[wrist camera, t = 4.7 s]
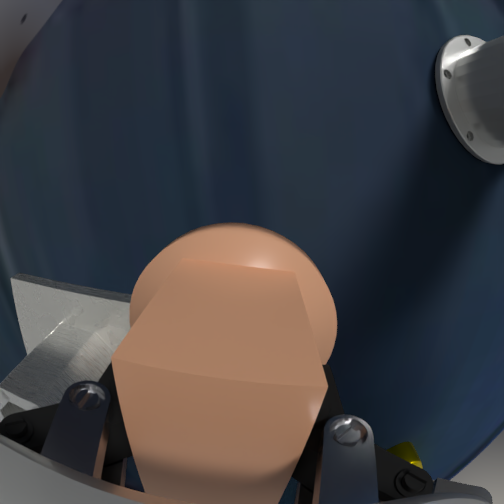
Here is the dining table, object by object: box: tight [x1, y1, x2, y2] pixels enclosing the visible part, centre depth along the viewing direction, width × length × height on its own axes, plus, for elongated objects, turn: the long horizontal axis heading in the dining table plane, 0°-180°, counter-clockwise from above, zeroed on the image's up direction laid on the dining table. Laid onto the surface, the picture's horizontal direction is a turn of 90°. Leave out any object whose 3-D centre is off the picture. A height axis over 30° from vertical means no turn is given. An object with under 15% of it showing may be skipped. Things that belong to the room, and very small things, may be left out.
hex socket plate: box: [0, 273, 132, 422], centre depth 20 cm, size 16×16×12 cm
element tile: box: [387, 442, 423, 469], centre depth 30 cm, size 15×15×5 cm
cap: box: [111, 223, 337, 504], centre depth 11 cm, size 8×8×10 cm
